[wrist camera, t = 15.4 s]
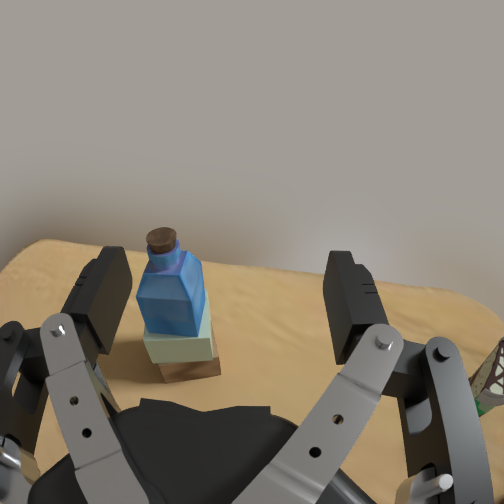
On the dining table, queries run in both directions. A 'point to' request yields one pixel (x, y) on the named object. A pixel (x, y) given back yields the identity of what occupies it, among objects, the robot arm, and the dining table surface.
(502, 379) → the food container
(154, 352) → the tower top block
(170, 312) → the perfume bottle
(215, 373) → the tower base block
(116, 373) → the dining table surface
